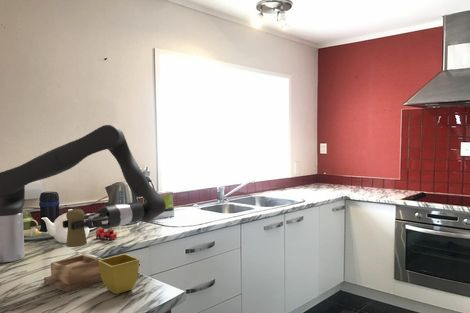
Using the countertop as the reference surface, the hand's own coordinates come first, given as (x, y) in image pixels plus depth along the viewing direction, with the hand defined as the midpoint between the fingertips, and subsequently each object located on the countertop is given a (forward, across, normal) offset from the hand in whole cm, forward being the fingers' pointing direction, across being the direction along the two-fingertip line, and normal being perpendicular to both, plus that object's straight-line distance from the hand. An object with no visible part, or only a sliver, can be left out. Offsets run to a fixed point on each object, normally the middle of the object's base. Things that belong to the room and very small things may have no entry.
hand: (67, 225), depth 113 cm
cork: (-3, 0, +7) cm, 7 cm away
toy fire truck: (-39, -38, +18) cm, 57 cm away
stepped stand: (-2, 0, +18) cm, 18 cm away
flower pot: (-5, +18, +18) cm, 26 cm away
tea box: (-86, -58, +19) cm, 105 cm away
